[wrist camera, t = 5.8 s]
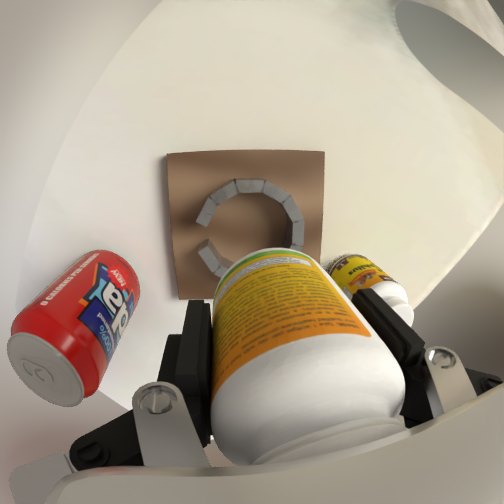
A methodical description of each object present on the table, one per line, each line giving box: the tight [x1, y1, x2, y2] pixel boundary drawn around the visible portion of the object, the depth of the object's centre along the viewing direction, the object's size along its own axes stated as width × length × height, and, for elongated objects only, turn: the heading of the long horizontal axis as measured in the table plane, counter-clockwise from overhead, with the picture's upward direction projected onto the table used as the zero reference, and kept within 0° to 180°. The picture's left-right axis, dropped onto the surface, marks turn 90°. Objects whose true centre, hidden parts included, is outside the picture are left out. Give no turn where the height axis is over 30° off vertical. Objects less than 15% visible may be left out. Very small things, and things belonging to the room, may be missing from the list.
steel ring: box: [196, 178, 304, 278], centre depth 24 cm, size 9×9×2 cm
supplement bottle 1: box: [210, 248, 408, 466], centre depth 8 cm, size 5×5×10 cm
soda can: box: [7, 250, 140, 407], centre depth 20 cm, size 8×8×15 cm
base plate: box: [167, 150, 325, 300], centre depth 26 cm, size 14×14×1 cm
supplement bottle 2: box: [329, 254, 414, 327], centre depth 25 cm, size 6×6×10 cm
